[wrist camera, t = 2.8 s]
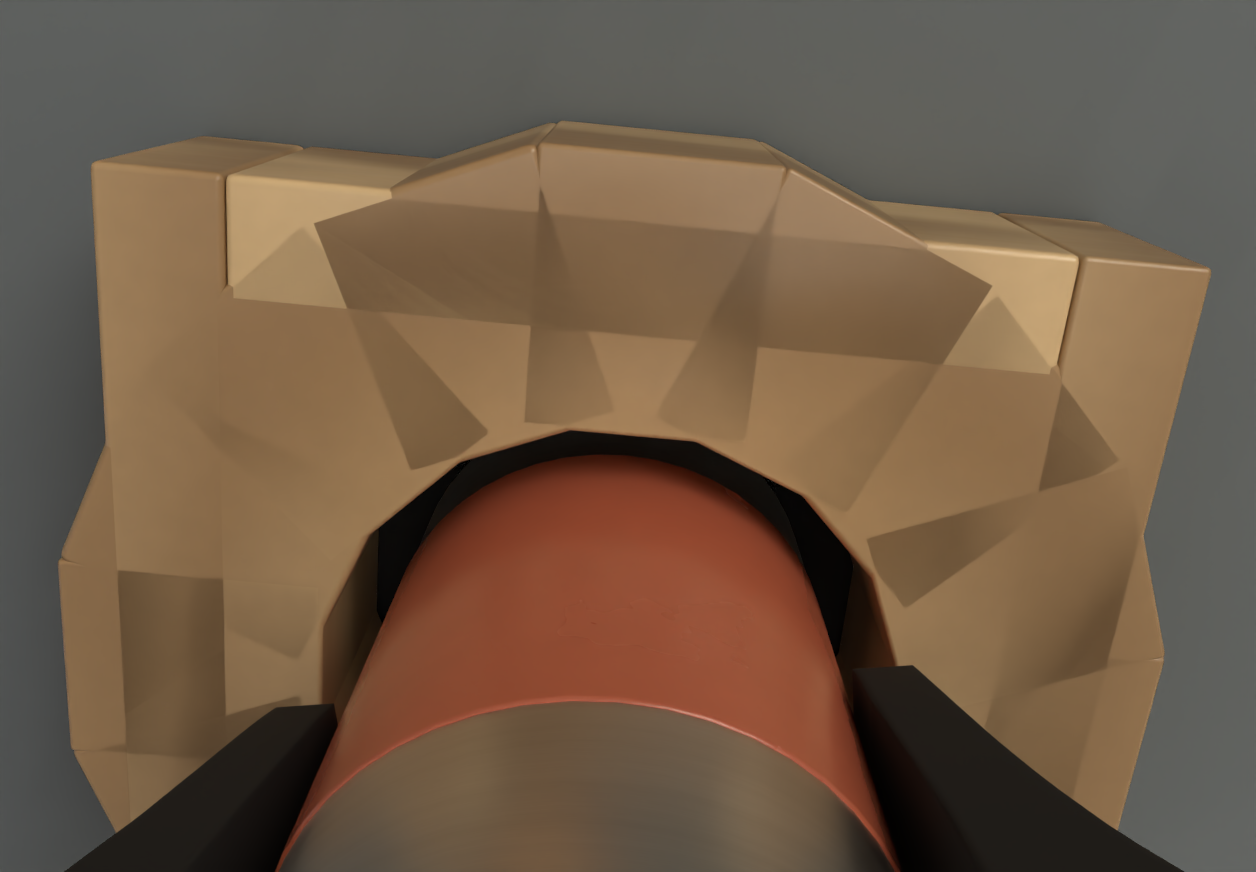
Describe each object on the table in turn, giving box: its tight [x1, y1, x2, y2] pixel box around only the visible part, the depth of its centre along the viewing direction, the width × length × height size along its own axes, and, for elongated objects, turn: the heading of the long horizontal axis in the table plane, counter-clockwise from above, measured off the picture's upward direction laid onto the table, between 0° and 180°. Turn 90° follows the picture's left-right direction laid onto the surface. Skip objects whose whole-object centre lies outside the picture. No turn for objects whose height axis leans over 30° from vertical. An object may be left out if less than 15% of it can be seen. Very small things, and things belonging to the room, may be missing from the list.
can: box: [275, 430, 902, 872], centre depth 12 cm, size 5×5×9 cm
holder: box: [58, 121, 1211, 833], centre depth 15 cm, size 12×12×3 cm
